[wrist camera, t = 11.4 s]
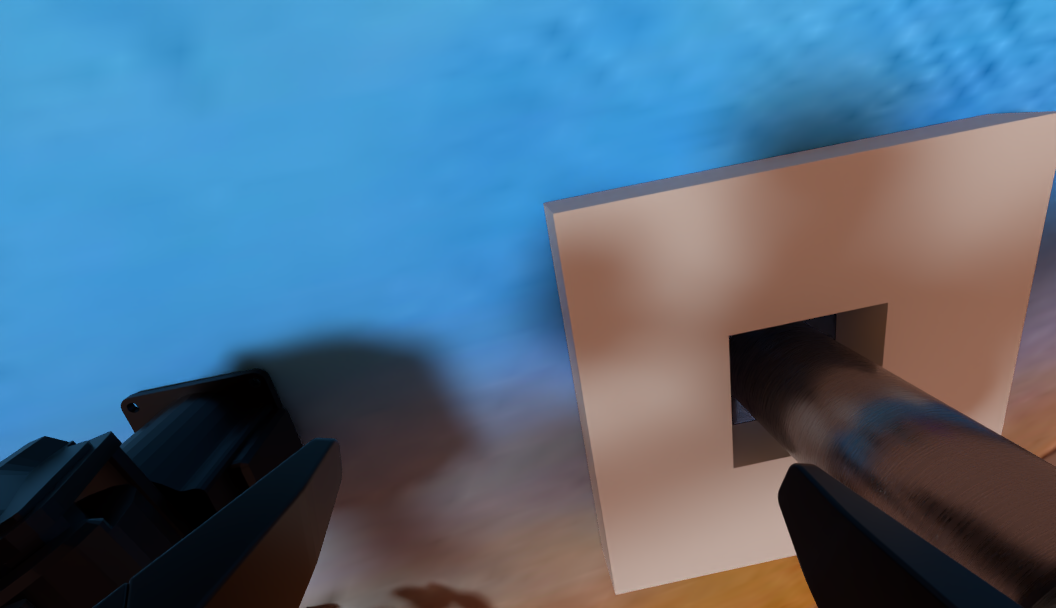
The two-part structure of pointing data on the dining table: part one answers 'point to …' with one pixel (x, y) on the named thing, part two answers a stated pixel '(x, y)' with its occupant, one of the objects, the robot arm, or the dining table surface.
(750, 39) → the dining table surface
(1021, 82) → the dining table surface
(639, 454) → the mount plate
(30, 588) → the robot arm
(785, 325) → the tube
